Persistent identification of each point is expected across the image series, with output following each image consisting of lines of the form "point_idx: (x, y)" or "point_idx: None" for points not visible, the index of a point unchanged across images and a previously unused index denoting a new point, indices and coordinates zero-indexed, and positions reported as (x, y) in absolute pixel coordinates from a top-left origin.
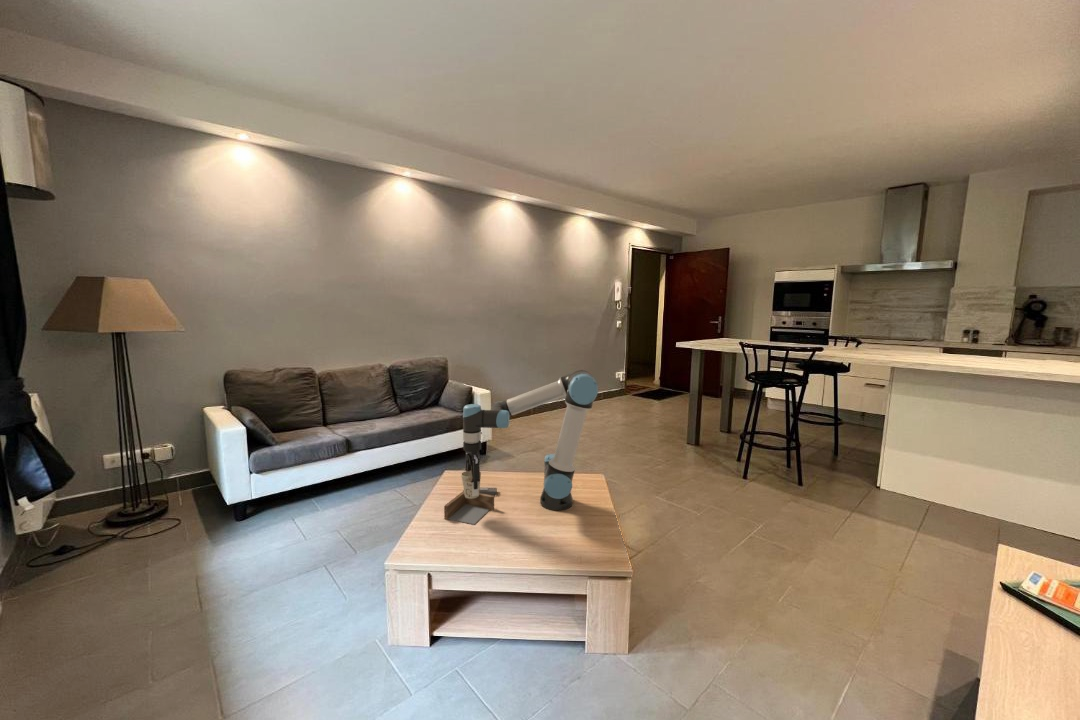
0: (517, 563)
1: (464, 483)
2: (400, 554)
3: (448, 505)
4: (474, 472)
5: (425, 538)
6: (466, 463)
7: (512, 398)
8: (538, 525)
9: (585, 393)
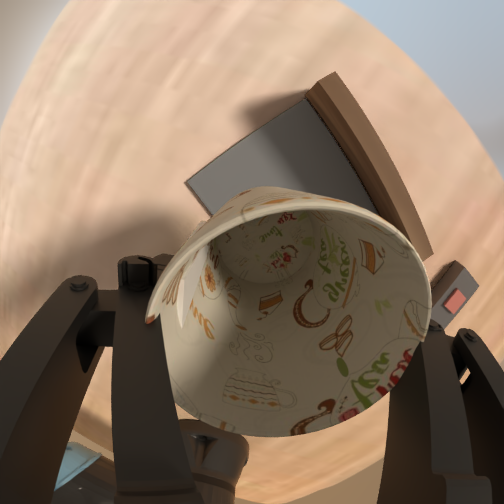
0: None
1: (253, 195)
2: None
3: (325, 92)
4: (5, 362)
5: None
6: (494, 398)
7: None
8: (101, 358)
9: None
